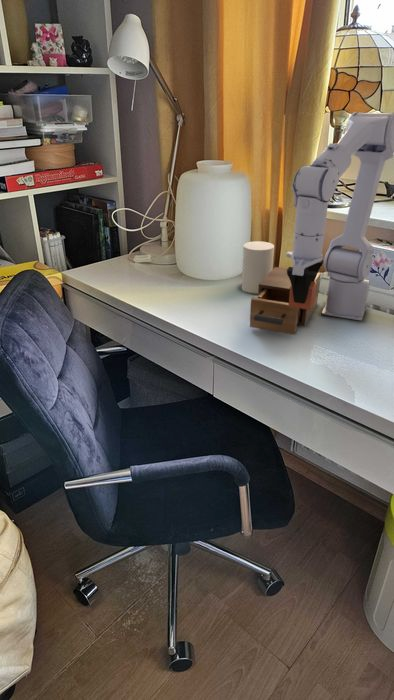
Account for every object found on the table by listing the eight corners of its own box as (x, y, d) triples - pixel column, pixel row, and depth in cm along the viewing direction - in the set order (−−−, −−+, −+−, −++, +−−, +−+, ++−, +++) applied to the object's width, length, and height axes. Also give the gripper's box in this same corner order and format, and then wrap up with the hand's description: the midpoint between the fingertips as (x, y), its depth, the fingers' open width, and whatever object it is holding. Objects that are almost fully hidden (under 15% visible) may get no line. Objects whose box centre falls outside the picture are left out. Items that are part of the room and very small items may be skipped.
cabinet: (304, 326, 111) (308, 291, 107) (256, 317, 115) (258, 284, 111) (316, 304, 122) (320, 272, 117) (272, 298, 126) (275, 266, 122)
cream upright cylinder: (270, 283, 135) (273, 241, 130) (271, 294, 128) (274, 250, 123) (242, 282, 136) (243, 241, 130) (241, 293, 129) (243, 249, 123)
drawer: (289, 343, 101) (292, 314, 98) (243, 334, 105) (244, 306, 102) (307, 313, 115) (310, 287, 111) (265, 306, 118) (267, 280, 115)
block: (314, 301, 100) (317, 281, 98) (310, 310, 97) (312, 289, 95) (293, 298, 102) (295, 278, 100) (288, 306, 98) (290, 286, 96)
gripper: (297, 222, 99) (292, 283, 106) (279, 239, 88) (273, 307, 94) (331, 225, 97) (324, 288, 103) (317, 244, 85) (309, 313, 92)
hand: (302, 297), depth 99 cm, fingers closed on block, 4 cm apart
